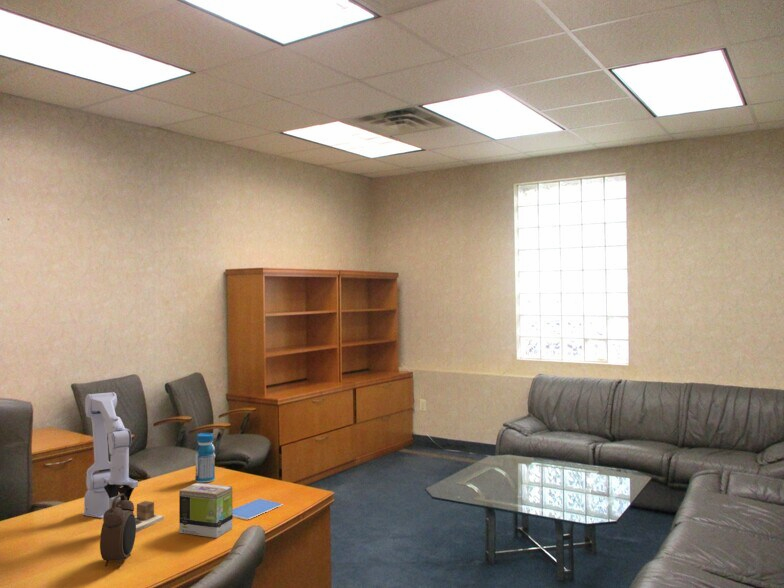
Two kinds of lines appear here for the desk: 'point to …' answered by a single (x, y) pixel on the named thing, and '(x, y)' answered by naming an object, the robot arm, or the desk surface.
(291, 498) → the desk surface
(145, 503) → the walnut block
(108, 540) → the alarm clock
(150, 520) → the board
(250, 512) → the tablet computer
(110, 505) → the grey block
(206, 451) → the beverage bottle
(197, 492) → the tea box
